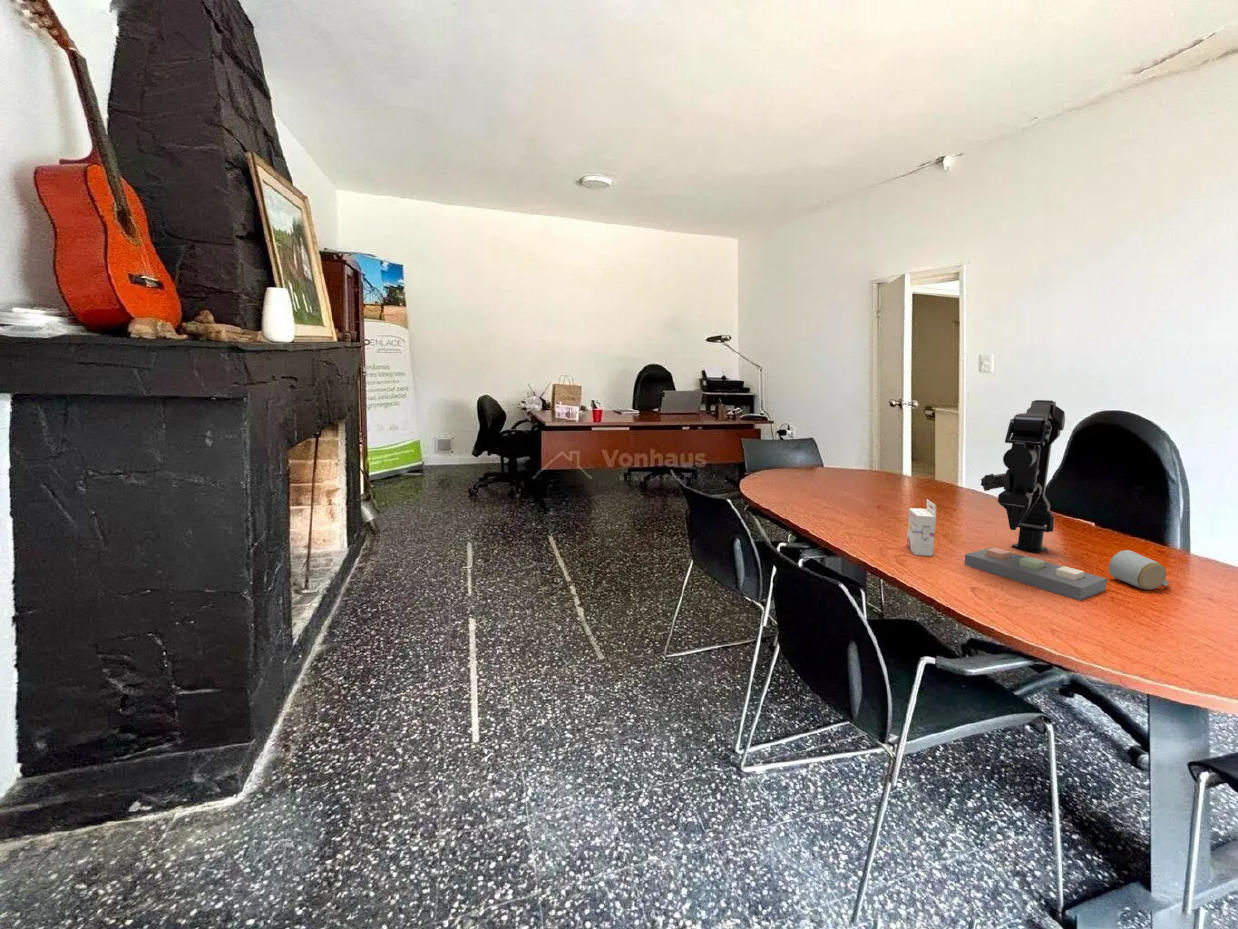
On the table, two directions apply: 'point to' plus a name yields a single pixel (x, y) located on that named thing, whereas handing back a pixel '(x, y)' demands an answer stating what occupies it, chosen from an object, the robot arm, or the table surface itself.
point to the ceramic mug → (1137, 570)
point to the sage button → (1032, 563)
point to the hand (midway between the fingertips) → (1016, 525)
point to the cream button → (1069, 573)
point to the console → (1037, 575)
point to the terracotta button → (998, 553)
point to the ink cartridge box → (922, 530)
